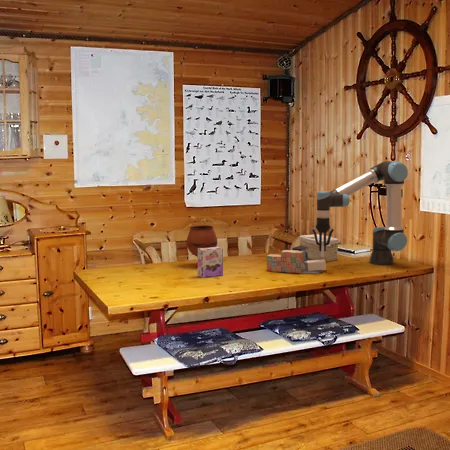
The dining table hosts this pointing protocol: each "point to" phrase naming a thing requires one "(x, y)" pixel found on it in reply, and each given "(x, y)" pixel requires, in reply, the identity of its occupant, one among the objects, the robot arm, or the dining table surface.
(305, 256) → the small box
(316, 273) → the pad
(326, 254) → the storage basket
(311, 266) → the tall block
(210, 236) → the terracotta clay vase
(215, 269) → the candy box
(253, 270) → the dining table surface
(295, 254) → the stack of blocks
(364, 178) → the robot arm
